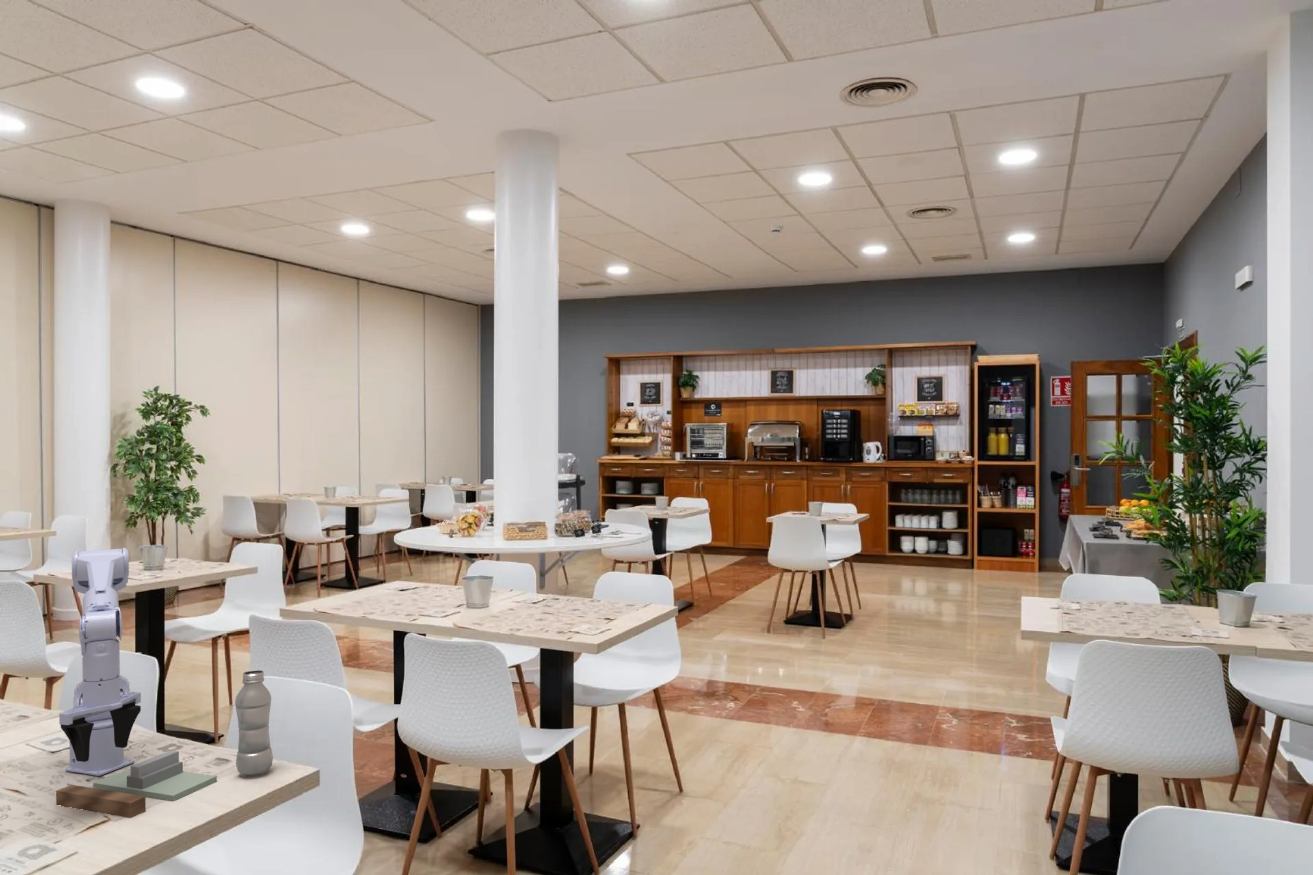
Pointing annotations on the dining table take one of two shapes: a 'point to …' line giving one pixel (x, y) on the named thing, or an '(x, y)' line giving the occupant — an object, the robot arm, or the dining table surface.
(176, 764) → the balance stand
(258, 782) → the dining table surface
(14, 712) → the dining table surface
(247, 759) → the plastic bottle
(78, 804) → the walnut beam
